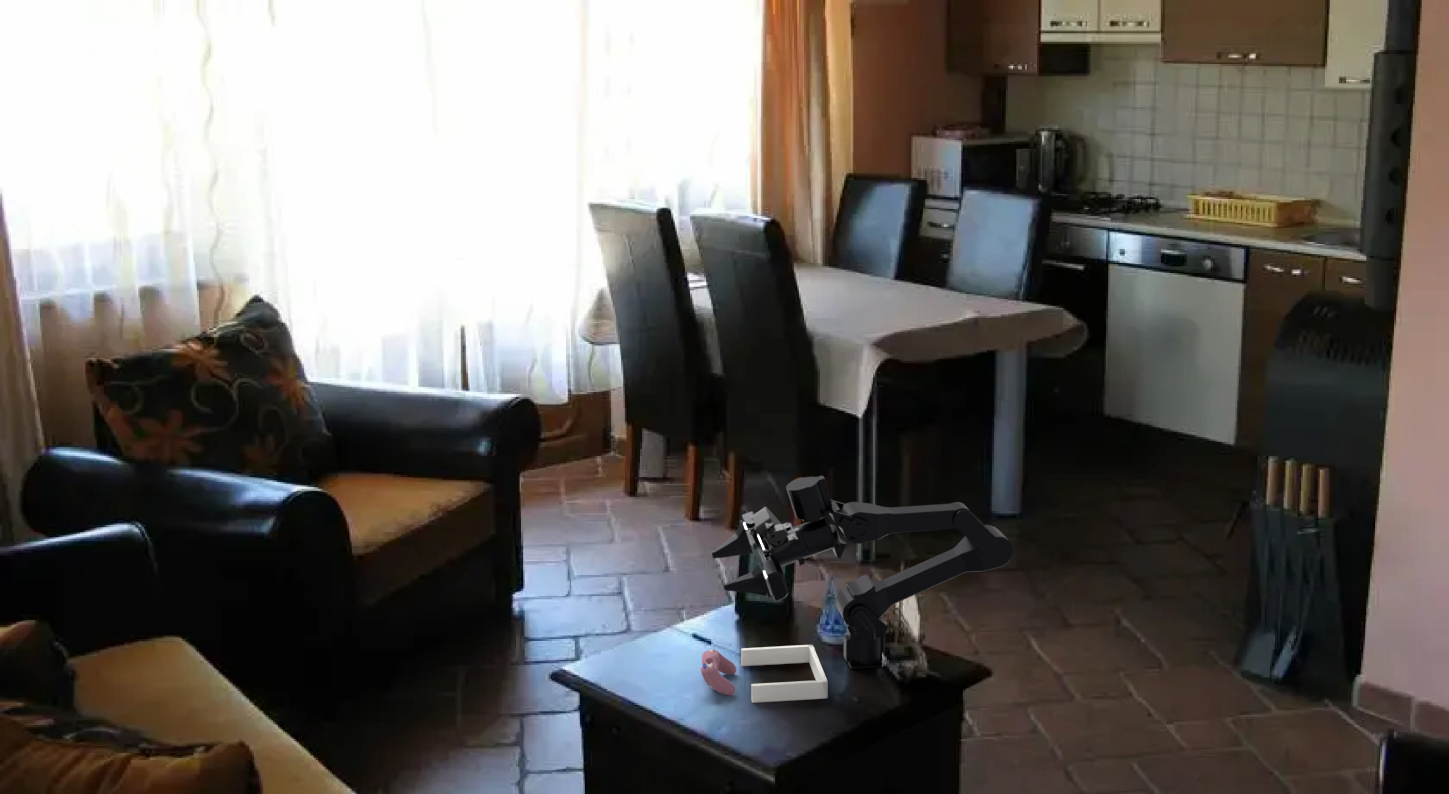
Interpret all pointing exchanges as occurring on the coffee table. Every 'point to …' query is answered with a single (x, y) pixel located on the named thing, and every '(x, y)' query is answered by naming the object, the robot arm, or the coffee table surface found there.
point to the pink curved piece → (717, 672)
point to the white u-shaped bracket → (786, 689)
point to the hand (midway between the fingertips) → (718, 571)
